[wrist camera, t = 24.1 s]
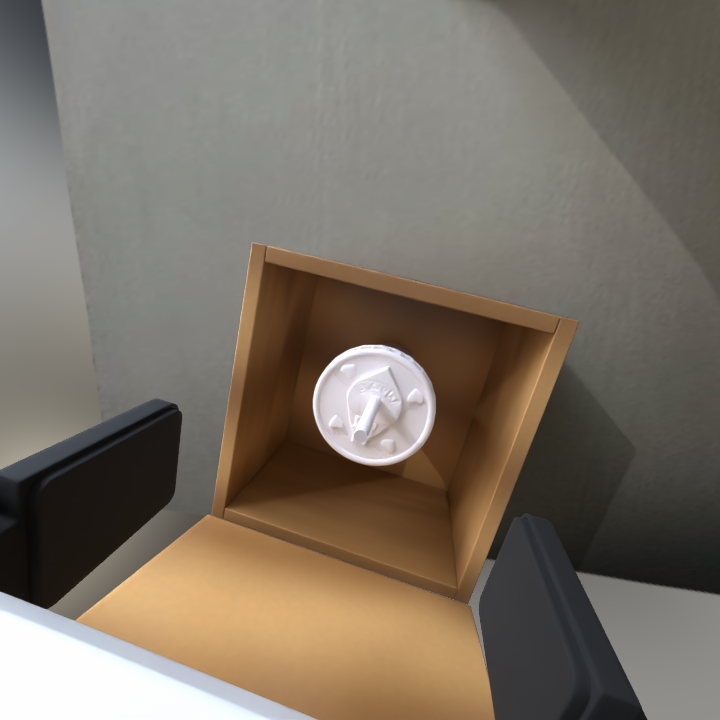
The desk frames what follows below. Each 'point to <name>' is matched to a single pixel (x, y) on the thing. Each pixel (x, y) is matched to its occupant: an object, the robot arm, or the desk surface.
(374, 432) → the smoothie
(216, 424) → the desk surface
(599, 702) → the robot arm
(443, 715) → the box lid
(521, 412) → the box
